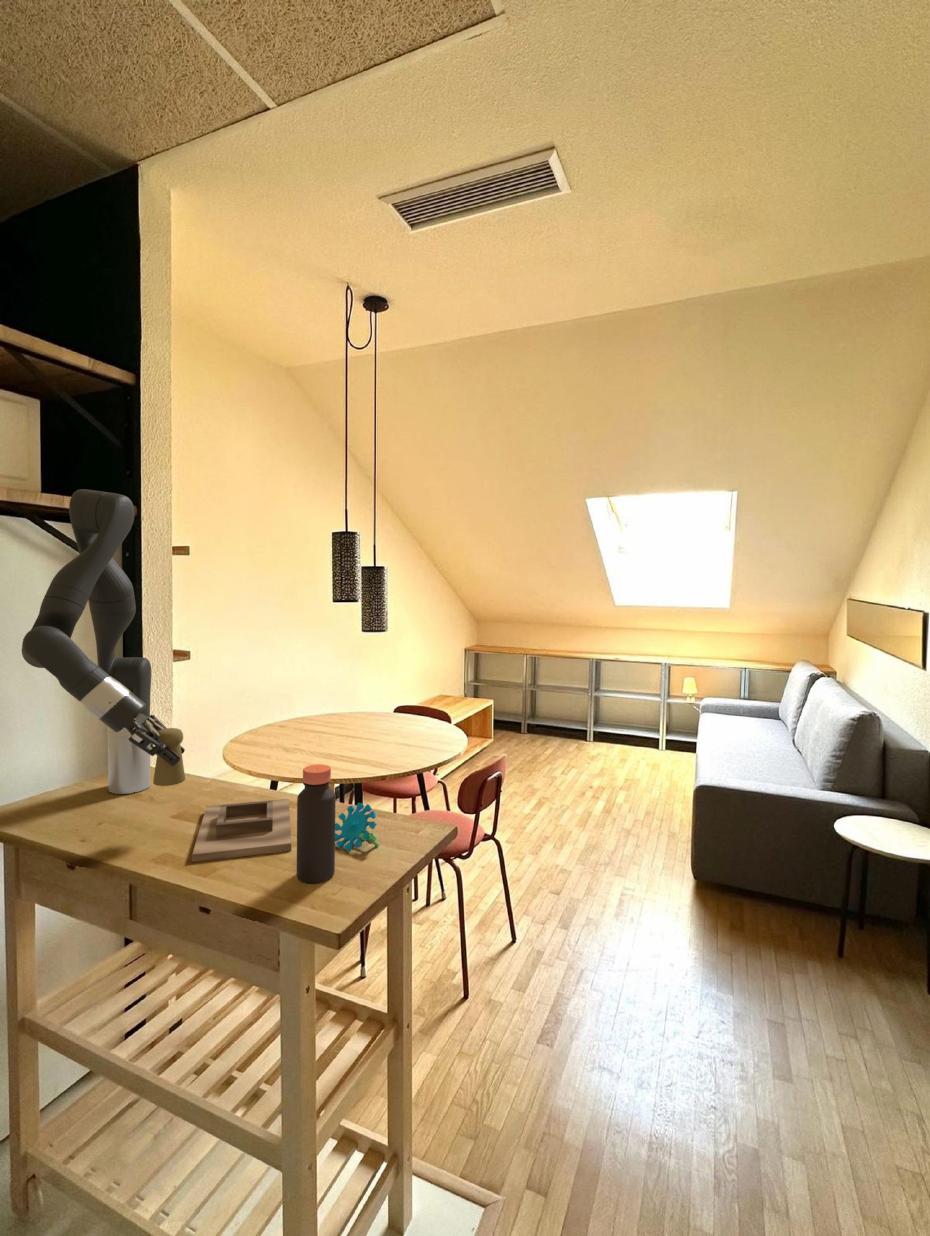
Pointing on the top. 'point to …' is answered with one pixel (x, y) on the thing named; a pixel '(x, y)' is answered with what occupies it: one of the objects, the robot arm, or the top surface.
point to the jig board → (243, 830)
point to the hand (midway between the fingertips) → (179, 757)
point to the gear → (356, 827)
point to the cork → (163, 769)
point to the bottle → (316, 826)
